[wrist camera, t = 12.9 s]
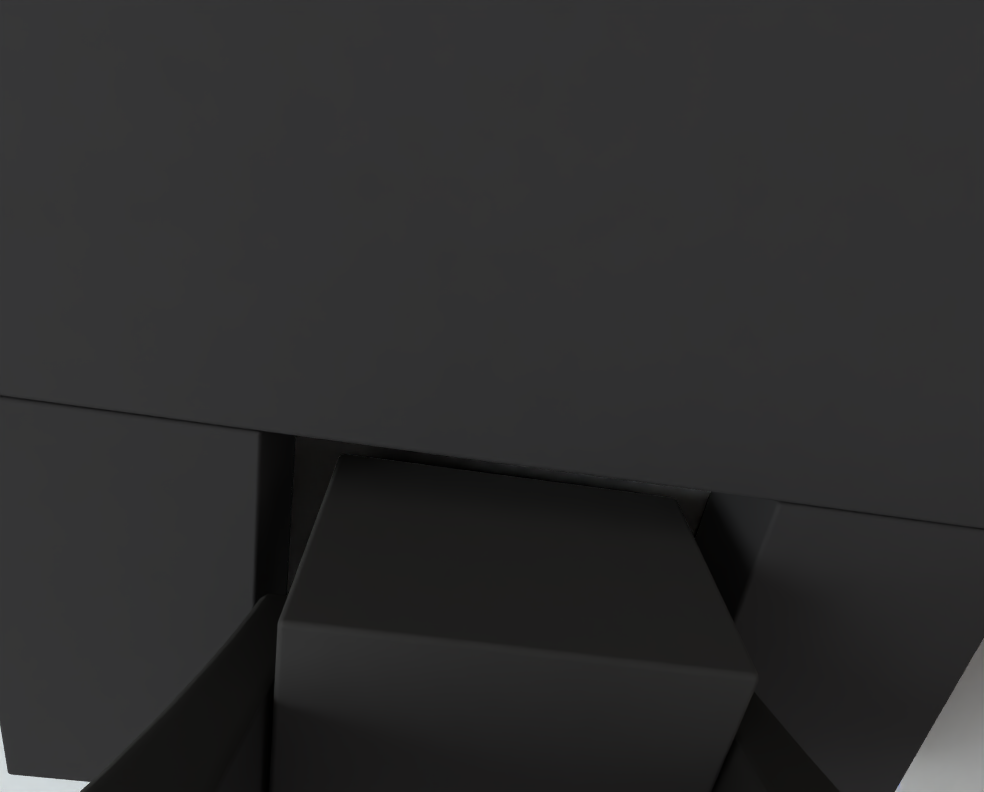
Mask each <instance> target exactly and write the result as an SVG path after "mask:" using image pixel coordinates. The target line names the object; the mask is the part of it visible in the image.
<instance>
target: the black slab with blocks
mask: <svg viewBox="0 0 984 792" xmlns="http://www.w3.org/2000/svg"><path fill="white" fill-rule="evenodd" d="M295 435H297V436H304V437H311V438H319V439H326V440H333V441H341V442H348V443H356V444H363V445H370V446H378V447H385V448H392V449H400V450H407V451H415V452H422V453H429V454H437V455H444V456H451V457H459V458H466V459H474V460H481V461H488V462H496V463H503V464H510V465H518V466H525V467H533V468H540V469H547V470H555V471H562V472H569V473H577V474H584V475H592V476H599V477H606V478H614V479H621V480H628V481H636V482H643V483H651V484H658V485H665V486H673V487H680V488H687V489H695V490H702V491H710V492H711V493H710V496H709V499H708V501H707V504H706V507H705V510H704V513H703V516H702V519H701V522H700V525H699V528H698V531H697V534H696V537H695V541H696V543H697V545H698V547H699V549H700V551H701V553H702V556H703V558H704V560H705V562H706V564H707V566H708V568H709V571H710V573H711V575H712V577H713V579H714V581H715V583H716V585H717V588H718V590H719V592H720V594H721V596H722V598H723V600H724V602H725V605H726V607H727V609H728V611H729V613H730V615H731V617H732V620H733V622H734V624H735V626H736V628H737V630H738V632H739V634H740V637H741V639H742V641H743V643H744V645H745V647H746V649H747V651H748V654H749V656H750V658H751V660H752V662H753V664H754V666H755V668H756V671H757V673H758V683H757V686H756V688H755V690H754V692H755V693H756V694H757V695H758V697H759V698H760V699H761V700H762V701H763V703H764V704H765V705H766V706H767V707H768V709H769V710H770V711H771V712H772V713H773V715H774V716H775V717H776V718H777V719H778V721H779V722H780V723H781V724H782V725H783V727H784V728H785V729H786V730H787V731H788V732H789V734H790V735H791V736H792V737H793V738H794V739H795V741H796V742H797V743H798V744H799V745H800V746H801V748H802V749H803V750H804V751H805V752H806V753H807V755H808V756H809V757H810V758H811V759H812V760H813V762H814V763H815V764H816V765H817V766H818V767H819V768H820V770H821V771H822V772H823V773H824V774H825V775H826V776H827V777H828V779H829V780H830V781H831V782H832V783H833V784H834V785H835V786H836V788H837V789H838V790H839V791H840V792H895V790H896V789H897V787H898V785H899V783H900V782H901V780H902V778H903V776H904V775H905V773H906V771H907V770H908V768H909V766H910V764H911V763H912V761H913V759H914V757H915V756H916V754H917V752H918V750H919V749H920V747H921V745H922V744H923V742H924V740H925V738H926V737H927V735H928V733H929V731H930V730H931V728H932V726H933V724H934V723H935V721H936V719H937V718H938V716H939V714H940V712H941V711H942V709H943V707H944V705H945V704H946V702H947V700H948V698H949V697H950V695H951V693H952V692H953V690H954V688H955V686H956V685H957V683H958V681H959V679H960V678H961V676H962V674H963V672H964V671H965V669H966V667H967V666H968V664H969V662H970V660H971V659H972V657H973V655H974V653H975V652H976V650H977V648H978V646H979V645H980V643H981V641H982V640H983V638H984V0H0V726H1V732H2V739H3V745H4V751H5V757H6V763H7V769H8V773H9V774H13V775H23V776H34V777H44V778H55V779H66V780H76V781H87V782H91V781H92V780H93V779H94V778H95V777H97V776H98V775H99V774H100V773H101V772H102V771H103V770H104V769H105V768H106V767H107V766H108V765H109V764H110V763H111V762H112V761H113V760H114V759H115V758H116V757H117V756H118V755H119V754H120V753H121V752H122V751H123V750H124V749H125V748H126V747H127V746H128V745H129V744H130V743H131V742H132V741H134V740H135V739H136V738H137V737H138V736H139V735H140V734H141V733H142V732H143V731H144V730H145V729H146V728H147V727H148V726H149V725H150V724H151V723H152V722H153V721H154V720H155V719H156V718H157V717H158V716H159V715H160V714H161V713H162V712H163V711H164V709H165V708H166V707H167V706H168V705H169V704H170V703H171V702H172V701H173V700H174V699H175V698H176V697H177V695H178V694H179V693H180V692H181V691H182V690H183V689H184V688H185V687H186V686H187V685H188V684H189V683H190V681H191V680H192V679H193V678H194V677H195V676H196V675H197V674H198V673H199V672H200V671H201V670H202V668H203V667H204V666H205V665H206V664H207V663H208V662H209V660H210V659H211V658H212V657H213V656H214V655H215V654H216V652H217V651H218V650H219V649H220V648H221V647H222V646H223V644H224V643H225V642H226V641H227V640H228V638H229V637H230V636H231V635H232V634H233V632H234V631H235V630H236V629H237V628H238V626H239V625H240V624H241V623H242V621H243V620H244V619H245V618H246V616H247V615H248V614H249V612H250V611H251V610H252V609H253V607H254V606H255V605H256V603H257V602H258V601H259V599H260V598H262V597H264V596H265V595H267V594H268V593H269V594H278V595H286V591H287V574H288V556H289V539H290V521H291V504H292V487H293V469H294V452H295Z"/></svg>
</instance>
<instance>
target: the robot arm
mask: <svg viewBox="0 0 984 792" xmlns="http://www.w3.org/2000/svg"><path fill="white" fill-rule="evenodd" d="M287 597H288V596H286V595H278V594H269V593H268V594H267V595H265V596H264V597H262V598H260V599H259V601H258V602H257V603H256V605H255V606H254V607H253V609H252V610H251V611H250V612H249V614H248V615H247V616H246V618H245V619H244V620H243V621H242V623H241V624H240V625H239V626H238V628H237V629H236V630H235V631H234V632H233V634H232V635H231V636H230V637H229V638H228V640H227V641H226V642H225V643H224V644H223V646H222V647H221V648H220V649H219V650H218V651H217V652H216V654H215V655H214V656H213V657H212V658H211V659H210V660H209V662H208V663H207V664H206V665H205V666H204V667H203V668H202V670H201V671H200V672H199V673H198V674H197V675H196V676H195V677H194V678H193V679H192V680H191V681H190V683H189V684H188V685H187V686H186V687H185V688H184V689H183V690H182V691H181V692H180V693H179V694H178V695H177V697H176V698H175V699H174V700H173V701H172V702H171V703H170V704H169V705H168V706H167V707H166V708H165V709H164V711H163V712H162V713H161V714H160V715H159V716H158V717H157V718H156V719H155V720H154V721H153V722H152V723H151V724H150V725H149V726H148V727H147V728H146V729H145V730H144V731H143V732H142V733H141V734H140V735H139V736H138V737H137V738H136V739H135V740H134V741H132V742H131V743H130V744H129V745H128V746H127V747H126V748H125V749H124V750H123V751H122V752H121V753H120V754H119V755H118V756H117V757H116V758H115V759H114V760H113V761H112V762H111V763H110V764H109V765H108V766H107V767H106V768H105V769H104V770H103V771H102V772H101V773H100V774H99V775H98V776H97V777H95V778H94V779H93V780H92V781H91V782H90V783H89V784H88V785H87V786H86V787H85V788H83V789H82V790H81V791H80V792H269V780H270V761H271V742H272V722H273V703H274V684H275V665H276V645H277V626H278V621H279V618H280V616H281V613H282V610H283V607H284V605H285V602H286V599H287ZM712 792H840V791H839V790H838V789H837V788H836V786H835V785H834V784H833V783H832V782H831V781H830V780H829V779H828V777H827V776H826V775H825V774H824V773H823V772H822V771H821V770H820V768H819V767H818V766H817V765H816V764H815V763H814V762H813V760H812V759H811V758H810V757H809V756H808V755H807V753H806V752H805V751H804V750H803V749H802V748H801V746H800V745H799V744H798V743H797V742H796V741H795V739H794V738H793V737H792V736H791V735H790V734H789V732H788V731H787V730H786V729H785V728H784V727H783V725H782V724H781V723H780V722H779V721H778V719H777V718H776V717H775V716H774V715H773V713H772V712H771V711H770V710H769V709H768V707H767V706H766V705H765V704H764V703H763V701H762V700H761V699H760V698H759V697H758V695H757V694H756V693H755V692H754V693H753V695H752V697H751V700H750V702H749V704H748V707H747V709H746V711H745V714H744V716H743V719H742V721H741V723H740V726H739V728H738V730H737V733H736V735H735V737H734V740H733V742H732V745H731V747H730V749H729V752H728V754H727V756H726V759H725V761H724V763H723V766H722V768H721V770H720V773H719V775H718V778H717V780H716V782H715V785H714V787H713V789H712Z"/></svg>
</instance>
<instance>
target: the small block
mask: <svg viewBox="0 0 984 792" xmlns="http://www.w3.org/2000/svg"><path fill="white" fill-rule="evenodd" d="M757 683H758V673H757V671H756V668H755V666H754V664H753V662H752V660H751V658H750V656H749V654H748V651H747V649H746V647H745V645H744V643H743V641H742V639H741V637H740V634H739V632H738V630H737V628H736V626H735V624H734V622H733V620H732V617H731V615H730V613H729V611H728V609H727V607H726V605H725V602H724V600H723V598H722V596H721V594H720V592H719V590H718V588H717V585H716V583H715V581H714V579H713V577H712V575H711V573H710V571H709V568H708V566H707V564H706V562H705V560H704V558H703V556H702V553H701V551H700V549H699V547H698V545H697V543H696V541H695V539H694V536H693V534H692V532H691V530H690V528H689V526H688V524H687V522H686V519H685V517H684V515H683V513H682V511H681V509H680V507H679V504H678V502H677V500H676V499H674V498H671V497H663V496H656V495H648V494H641V493H633V492H626V491H618V490H611V489H603V488H596V487H588V486H581V485H574V484H566V483H559V482H551V481H544V480H536V479H529V478H521V477H514V476H506V475H499V474H491V473H484V472H476V471H469V470H461V469H454V468H446V467H439V466H431V465H424V464H416V463H409V462H401V461H394V460H386V459H379V458H371V457H364V456H357V455H349V454H342V455H340V457H339V458H338V461H337V464H336V467H335V469H334V472H333V475H332V477H331V480H330V483H329V486H328V488H327V491H326V494H325V496H324V499H323V502H322V505H321V507H320V510H319V513H318V515H317V518H316V521H315V524H314V526H313V529H312V532H311V534H310V537H309V540H308V542H307V545H306V548H305V551H304V553H303V556H302V559H301V561H300V564H299V567H298V570H297V572H296V575H295V578H294V580H293V583H292V586H291V589H290V591H289V594H288V597H287V599H286V602H285V605H284V607H283V610H282V613H281V616H280V618H279V621H278V626H277V645H276V665H275V684H274V703H273V722H272V742H271V761H270V780H269V792H712V789H713V787H714V785H715V782H716V780H717V778H718V775H719V773H720V770H721V768H722V766H723V763H724V761H725V759H726V756H727V754H728V752H729V749H730V747H731V745H732V742H733V740H734V737H735V735H736V733H737V730H738V728H739V726H740V723H741V721H742V719H743V716H744V714H745V711H746V709H747V707H748V704H749V702H750V700H751V697H752V695H753V693H754V690H755V688H756V686H757Z"/></svg>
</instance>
